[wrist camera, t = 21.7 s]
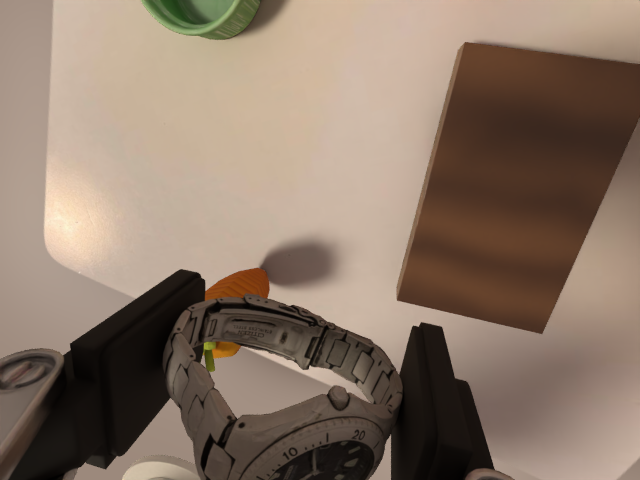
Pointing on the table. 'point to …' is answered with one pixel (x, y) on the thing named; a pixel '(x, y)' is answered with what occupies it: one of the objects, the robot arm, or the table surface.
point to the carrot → (233, 287)
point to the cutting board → (516, 181)
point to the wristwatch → (290, 423)
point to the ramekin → (204, 16)
